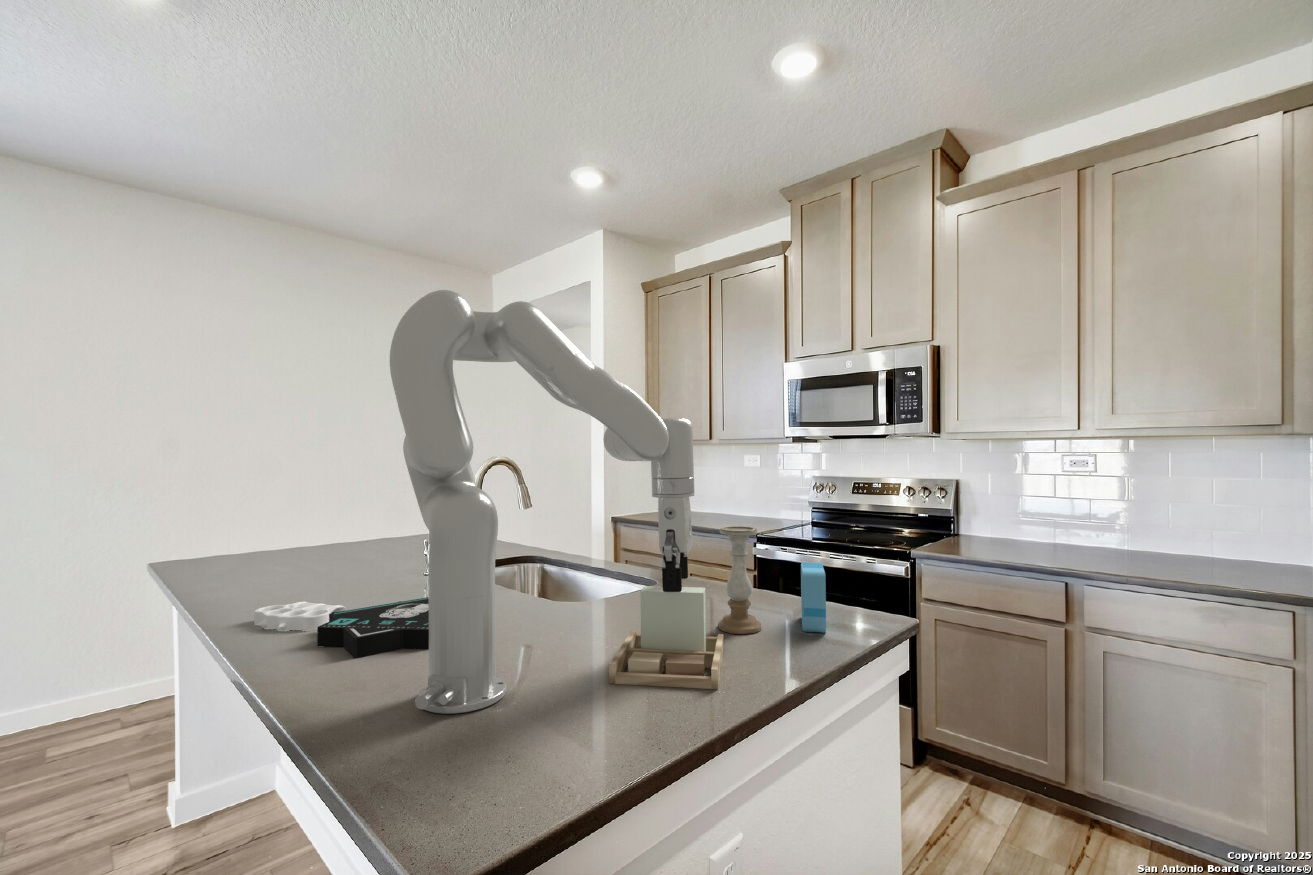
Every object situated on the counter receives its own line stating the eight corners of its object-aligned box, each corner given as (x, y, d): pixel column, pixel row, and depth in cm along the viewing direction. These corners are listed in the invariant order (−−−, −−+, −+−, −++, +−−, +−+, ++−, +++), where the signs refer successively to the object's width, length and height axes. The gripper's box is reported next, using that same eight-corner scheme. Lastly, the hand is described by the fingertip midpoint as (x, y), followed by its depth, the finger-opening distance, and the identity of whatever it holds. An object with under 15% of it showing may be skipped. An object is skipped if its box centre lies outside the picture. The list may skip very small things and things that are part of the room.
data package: (826, 634, 118) (825, 573, 119) (802, 633, 119) (801, 572, 119) (823, 617, 130) (822, 562, 130) (801, 616, 131) (800, 561, 131)
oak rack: (717, 689, 92) (717, 669, 92) (609, 683, 95) (609, 664, 95) (723, 651, 109) (723, 634, 109) (631, 646, 112) (631, 630, 112)
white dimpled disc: (358, 618, 134) (299, 638, 120) (297, 612, 140) (235, 630, 126) (358, 603, 134) (299, 621, 120) (297, 597, 140) (235, 614, 126)
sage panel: (704, 663, 103) (703, 592, 103) (641, 660, 105) (640, 591, 105) (706, 655, 107) (705, 587, 107) (645, 652, 109) (644, 585, 109)
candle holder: (720, 635, 119) (719, 531, 119) (715, 622, 127) (714, 525, 128) (765, 634, 119) (764, 531, 119) (756, 621, 128) (755, 525, 128)
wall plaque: (436, 662, 106) (497, 615, 136) (436, 639, 106) (497, 597, 136) (276, 658, 109) (371, 613, 139) (276, 636, 109) (371, 595, 139)
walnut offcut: (703, 682, 95) (703, 663, 95) (666, 681, 96) (665, 662, 96) (704, 673, 99) (704, 655, 99) (668, 672, 100) (668, 654, 100)
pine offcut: (658, 680, 96) (658, 661, 96) (628, 678, 97) (628, 660, 97) (663, 671, 100) (663, 653, 100) (633, 669, 101) (633, 651, 101)
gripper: (688, 491, 98) (692, 597, 97) (698, 483, 115) (701, 574, 115) (643, 492, 99) (646, 597, 99) (659, 484, 116) (662, 573, 116)
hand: (676, 584), depth 107 cm, fingers open, 9 cm apart
